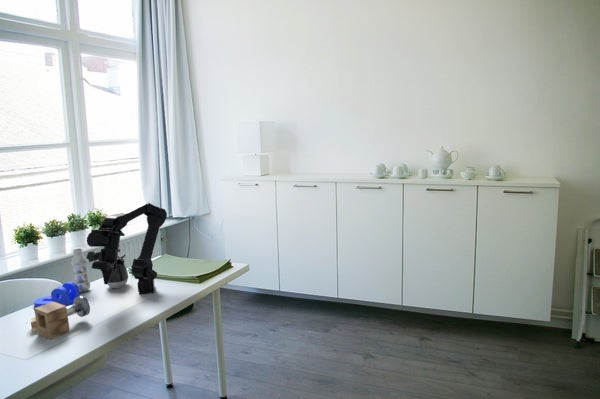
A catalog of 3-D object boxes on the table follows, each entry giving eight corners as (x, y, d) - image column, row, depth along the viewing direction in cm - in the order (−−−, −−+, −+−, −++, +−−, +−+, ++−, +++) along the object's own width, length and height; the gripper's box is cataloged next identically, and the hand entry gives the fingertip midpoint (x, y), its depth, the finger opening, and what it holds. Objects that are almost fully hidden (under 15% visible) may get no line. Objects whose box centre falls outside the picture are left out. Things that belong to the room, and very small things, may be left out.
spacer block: (44, 325, 173) (42, 315, 173) (44, 329, 170) (42, 319, 169) (32, 328, 172) (30, 318, 171) (32, 332, 168) (30, 322, 167)
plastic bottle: (78, 289, 212) (72, 248, 208) (93, 288, 212) (87, 247, 209) (72, 294, 205) (66, 252, 202) (88, 293, 206) (82, 251, 202)
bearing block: (57, 326, 172) (53, 301, 170) (69, 331, 167) (66, 306, 165) (38, 333, 166) (34, 308, 165) (50, 339, 161) (46, 313, 160)
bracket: (80, 301, 197) (77, 281, 196) (67, 308, 189) (64, 288, 187) (44, 300, 200) (41, 281, 199) (30, 308, 192) (26, 287, 191)
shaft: (79, 312, 179) (77, 293, 177) (91, 316, 174) (88, 297, 173) (49, 324, 169) (46, 304, 168) (60, 329, 164) (57, 308, 163)
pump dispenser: (133, 285, 213) (129, 254, 211) (112, 291, 206) (108, 259, 204) (123, 280, 220) (120, 250, 218) (102, 287, 213) (98, 256, 211)
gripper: (101, 242, 195) (96, 278, 194) (81, 245, 176) (75, 285, 176) (127, 245, 195) (121, 281, 194) (109, 249, 176) (103, 289, 176)
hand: (105, 284), depth 185 cm, fingers closed
